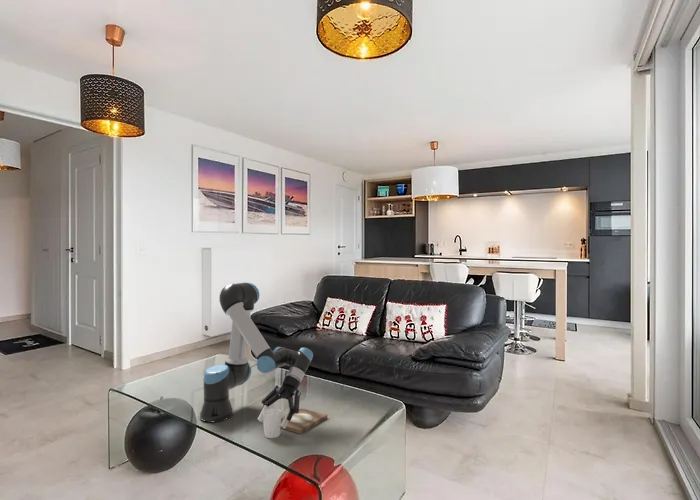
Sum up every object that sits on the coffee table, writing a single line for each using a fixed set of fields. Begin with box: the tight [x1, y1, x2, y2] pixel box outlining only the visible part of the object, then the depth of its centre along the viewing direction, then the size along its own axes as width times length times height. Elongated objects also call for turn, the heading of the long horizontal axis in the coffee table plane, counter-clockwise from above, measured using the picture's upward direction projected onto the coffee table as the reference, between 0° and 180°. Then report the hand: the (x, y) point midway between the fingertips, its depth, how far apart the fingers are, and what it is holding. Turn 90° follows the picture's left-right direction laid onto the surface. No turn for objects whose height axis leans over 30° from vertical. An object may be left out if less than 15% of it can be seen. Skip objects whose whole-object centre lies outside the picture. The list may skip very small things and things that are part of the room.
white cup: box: [262, 407, 282, 439], centre depth 165 cm, size 8×8×10 cm
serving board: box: [280, 407, 328, 435], centre depth 178 cm, size 20×16×2 cm
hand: (270, 424), depth 164 cm, fingers open, 13 cm apart
